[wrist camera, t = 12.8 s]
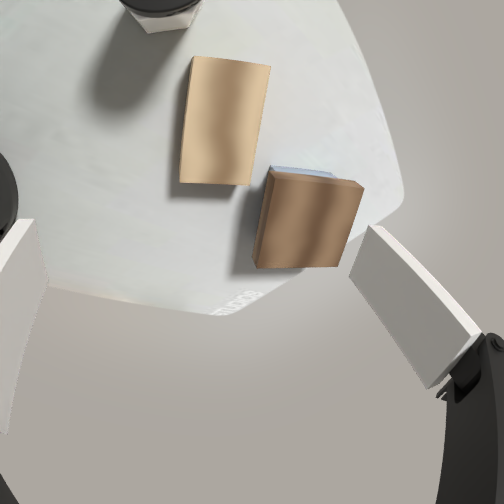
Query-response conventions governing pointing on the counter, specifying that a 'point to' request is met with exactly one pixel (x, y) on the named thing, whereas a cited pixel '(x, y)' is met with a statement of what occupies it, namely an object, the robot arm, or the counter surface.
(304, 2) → the counter surface
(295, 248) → the lid
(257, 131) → the tan wooden block
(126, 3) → the jar
